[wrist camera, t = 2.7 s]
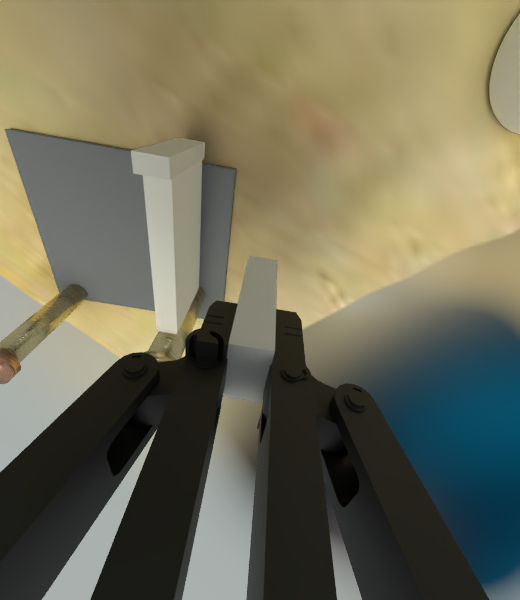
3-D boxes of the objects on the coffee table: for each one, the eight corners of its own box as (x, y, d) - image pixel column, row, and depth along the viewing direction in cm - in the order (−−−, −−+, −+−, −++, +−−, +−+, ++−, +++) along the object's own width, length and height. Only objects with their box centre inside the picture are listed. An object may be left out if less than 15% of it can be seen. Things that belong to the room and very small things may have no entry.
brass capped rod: (64, 275, 28) (-41, 354, 19) (91, 279, 28) (1, 361, 19) (71, 297, 29) (-23, 380, 20) (97, 301, 29) (15, 386, 20)
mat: (11, 128, 20) (4, 129, 20) (236, 168, 21) (234, 170, 20) (64, 292, 29) (60, 295, 29) (222, 318, 30) (221, 321, 29)
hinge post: (179, 274, 27) (128, 356, 18) (211, 280, 27) (177, 363, 18) (180, 300, 29) (134, 386, 20) (210, 305, 29) (178, 393, 20)
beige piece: (200, 287, 26) (176, 341, 20) (181, 284, 25) (151, 337, 20) (204, 142, 19) (169, 157, 13) (178, 137, 19) (130, 150, 13)
